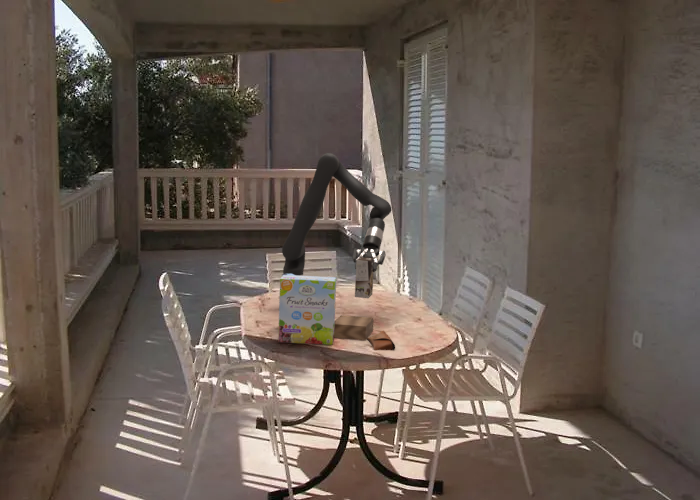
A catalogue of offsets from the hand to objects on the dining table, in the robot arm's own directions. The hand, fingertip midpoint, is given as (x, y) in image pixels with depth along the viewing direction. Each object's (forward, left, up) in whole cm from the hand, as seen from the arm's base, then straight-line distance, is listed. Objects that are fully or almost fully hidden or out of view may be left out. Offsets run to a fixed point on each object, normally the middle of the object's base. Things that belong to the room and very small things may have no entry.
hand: (365, 270), depth 337 cm
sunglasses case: (+14, -27, -25) cm, 39 cm away
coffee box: (0, -1, -11) cm, 11 cm away
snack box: (-14, -35, -24) cm, 44 cm away
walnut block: (0, -16, -24) cm, 29 cm away
